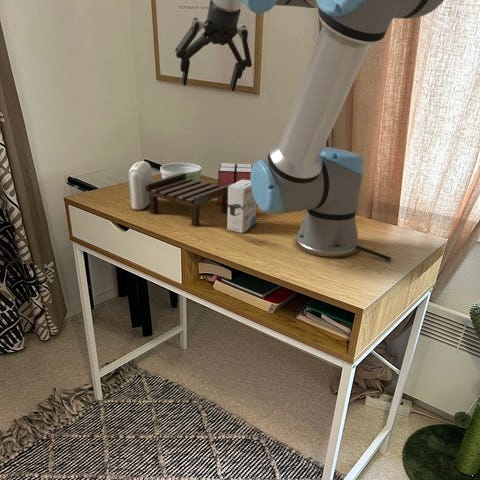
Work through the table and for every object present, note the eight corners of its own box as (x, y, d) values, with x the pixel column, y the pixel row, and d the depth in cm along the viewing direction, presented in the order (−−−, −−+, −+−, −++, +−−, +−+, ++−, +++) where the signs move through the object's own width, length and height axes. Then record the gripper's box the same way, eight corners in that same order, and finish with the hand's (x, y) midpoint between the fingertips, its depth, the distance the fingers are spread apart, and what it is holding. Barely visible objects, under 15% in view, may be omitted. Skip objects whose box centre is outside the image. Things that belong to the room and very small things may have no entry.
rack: (232, 212, 141) (233, 184, 136) (197, 227, 129) (197, 197, 125) (183, 199, 149) (183, 172, 145) (147, 212, 138) (145, 183, 134)
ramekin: (174, 181, 166) (173, 160, 162) (208, 186, 162) (208, 165, 158) (153, 191, 156) (152, 169, 152) (189, 197, 151) (189, 174, 148)
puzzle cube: (250, 205, 146) (252, 172, 141) (217, 204, 146) (218, 170, 141) (250, 195, 155) (252, 163, 150) (219, 194, 155) (220, 162, 150)
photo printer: (141, 199, 148) (138, 157, 142) (155, 200, 148) (152, 158, 141) (129, 209, 139) (125, 166, 133) (143, 211, 139) (140, 167, 132)
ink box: (240, 220, 135) (241, 178, 129) (256, 223, 133) (258, 181, 127) (226, 230, 128) (227, 185, 122) (242, 233, 127) (244, 189, 120)
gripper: (271, 3, 120) (248, 81, 138) (171, -14, 113) (161, 71, 130) (278, 20, 117) (254, 98, 134) (175, 3, 109) (164, 88, 127)
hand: (208, 85), depth 132 cm, fingers open, 13 cm apart
